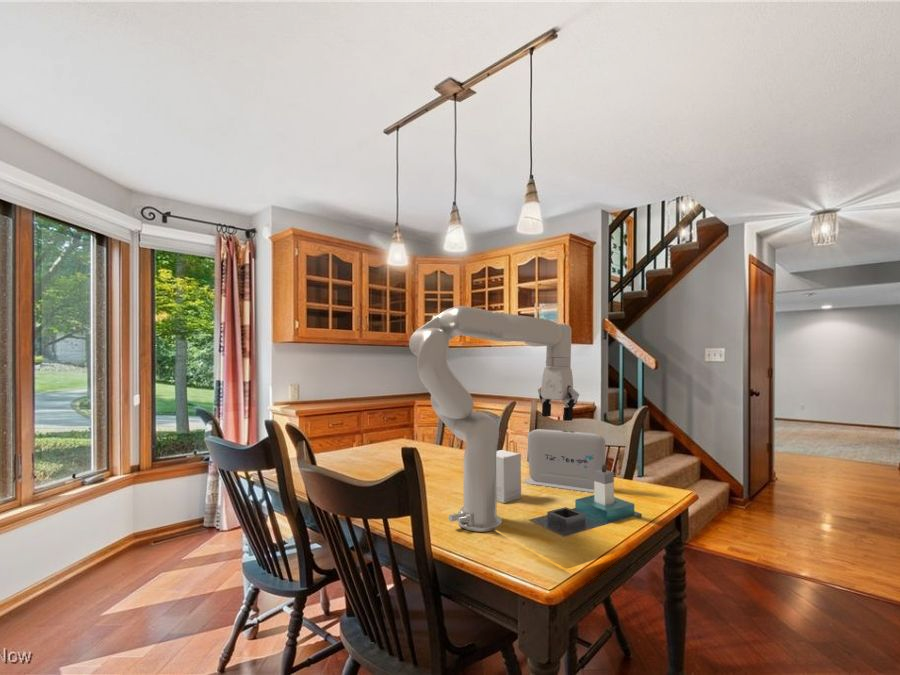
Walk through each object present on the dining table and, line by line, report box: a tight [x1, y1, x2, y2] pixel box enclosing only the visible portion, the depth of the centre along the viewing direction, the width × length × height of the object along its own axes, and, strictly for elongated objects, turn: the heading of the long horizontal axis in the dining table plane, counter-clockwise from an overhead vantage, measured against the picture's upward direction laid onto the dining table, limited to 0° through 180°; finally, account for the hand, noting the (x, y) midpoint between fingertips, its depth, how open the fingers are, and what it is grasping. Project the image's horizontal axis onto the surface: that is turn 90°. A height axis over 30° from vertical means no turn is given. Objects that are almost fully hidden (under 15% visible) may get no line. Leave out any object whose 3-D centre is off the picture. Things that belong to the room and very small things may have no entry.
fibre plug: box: [593, 464, 615, 506], centre depth 138 cm, size 4×4×14 cm
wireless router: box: [523, 428, 606, 494], centre depth 168 cm, size 31×10×20 cm, turn 62°
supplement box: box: [496, 449, 522, 504], centre depth 154 cm, size 9×9×15 cm
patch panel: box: [528, 494, 643, 537], centre depth 134 cm, size 32×14×4 cm, turn 121°
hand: (556, 418), depth 142 cm, fingers open, 9 cm apart
